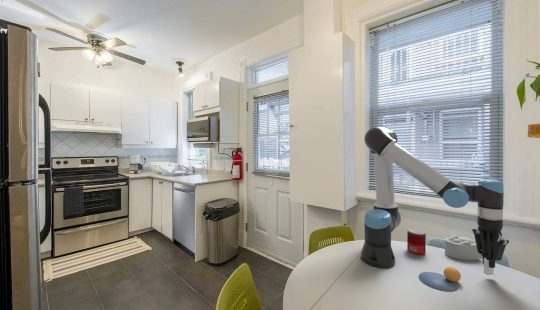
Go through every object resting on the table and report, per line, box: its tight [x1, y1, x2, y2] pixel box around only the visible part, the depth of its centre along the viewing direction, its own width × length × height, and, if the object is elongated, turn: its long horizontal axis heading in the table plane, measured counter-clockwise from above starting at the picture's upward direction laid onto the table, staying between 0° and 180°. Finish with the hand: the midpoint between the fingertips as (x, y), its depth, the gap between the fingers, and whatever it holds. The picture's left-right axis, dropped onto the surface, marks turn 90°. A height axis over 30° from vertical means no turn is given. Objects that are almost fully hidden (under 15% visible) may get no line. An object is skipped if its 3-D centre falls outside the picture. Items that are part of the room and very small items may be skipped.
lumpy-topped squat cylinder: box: [444, 234, 479, 261], centre depth 115 cm, size 10×13×9 cm
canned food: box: [406, 227, 427, 256], centre depth 119 cm, size 8×8×11 cm
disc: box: [418, 271, 459, 292], centre depth 94 cm, size 13×13×1 cm
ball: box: [443, 266, 462, 283], centre depth 94 cm, size 6×6×6 cm
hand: (488, 273), depth 95 cm, fingers closed
